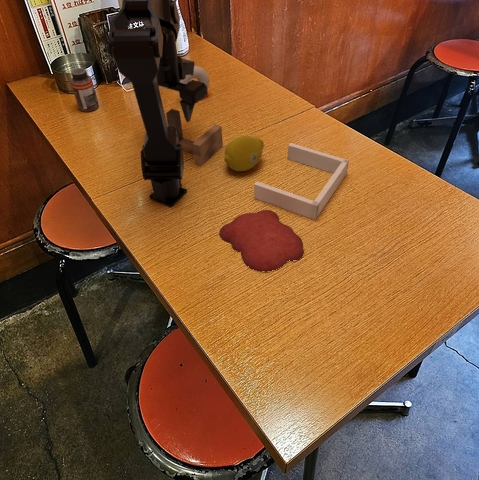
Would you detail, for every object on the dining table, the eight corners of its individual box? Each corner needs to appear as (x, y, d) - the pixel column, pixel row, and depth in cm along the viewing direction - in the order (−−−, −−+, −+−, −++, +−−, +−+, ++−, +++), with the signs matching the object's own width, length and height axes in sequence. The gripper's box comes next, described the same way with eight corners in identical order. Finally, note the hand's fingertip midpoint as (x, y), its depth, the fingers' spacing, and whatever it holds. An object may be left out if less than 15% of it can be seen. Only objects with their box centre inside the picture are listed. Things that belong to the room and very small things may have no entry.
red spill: (212, 230, 97) (212, 223, 96) (265, 206, 102) (265, 199, 101) (259, 283, 87) (259, 276, 86) (315, 253, 92) (316, 246, 91)
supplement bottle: (77, 105, 135) (65, 68, 127) (97, 100, 137) (87, 64, 129) (81, 114, 131) (69, 77, 123) (101, 109, 133) (91, 72, 125)
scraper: (201, 166, 113) (197, 133, 106) (162, 152, 117) (156, 120, 110) (222, 146, 119) (220, 113, 112) (184, 134, 123) (180, 102, 116)
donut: (207, 92, 139) (205, 60, 132) (212, 97, 137) (210, 65, 129) (177, 100, 136) (173, 68, 129) (181, 105, 134) (177, 73, 126)
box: (315, 219, 98) (317, 206, 95) (254, 197, 104) (254, 184, 101) (346, 174, 109) (348, 160, 106) (289, 156, 115) (290, 142, 112)
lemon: (230, 181, 108) (229, 153, 102) (218, 164, 113) (216, 136, 107) (271, 169, 111) (272, 141, 105) (257, 152, 116) (257, 125, 110)
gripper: (218, 49, 104) (221, 111, 115) (153, 35, 111) (163, 94, 122) (190, 69, 97) (197, 132, 108) (123, 52, 104) (136, 113, 115)
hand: (173, 116), depth 114 cm, fingers open, 9 cm apart
